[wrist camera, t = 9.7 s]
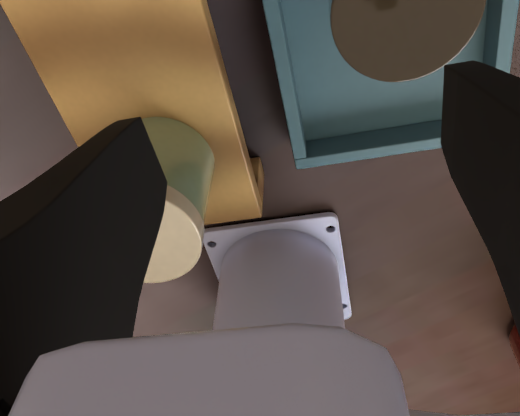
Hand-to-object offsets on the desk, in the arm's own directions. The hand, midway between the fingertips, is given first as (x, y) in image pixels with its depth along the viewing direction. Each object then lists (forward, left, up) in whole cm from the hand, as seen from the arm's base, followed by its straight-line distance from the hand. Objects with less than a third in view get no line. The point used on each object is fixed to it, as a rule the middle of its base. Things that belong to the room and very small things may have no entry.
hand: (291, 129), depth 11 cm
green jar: (-5, +6, -7) cm, 10 cm away
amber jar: (+1, -4, -10) cm, 11 cm away
